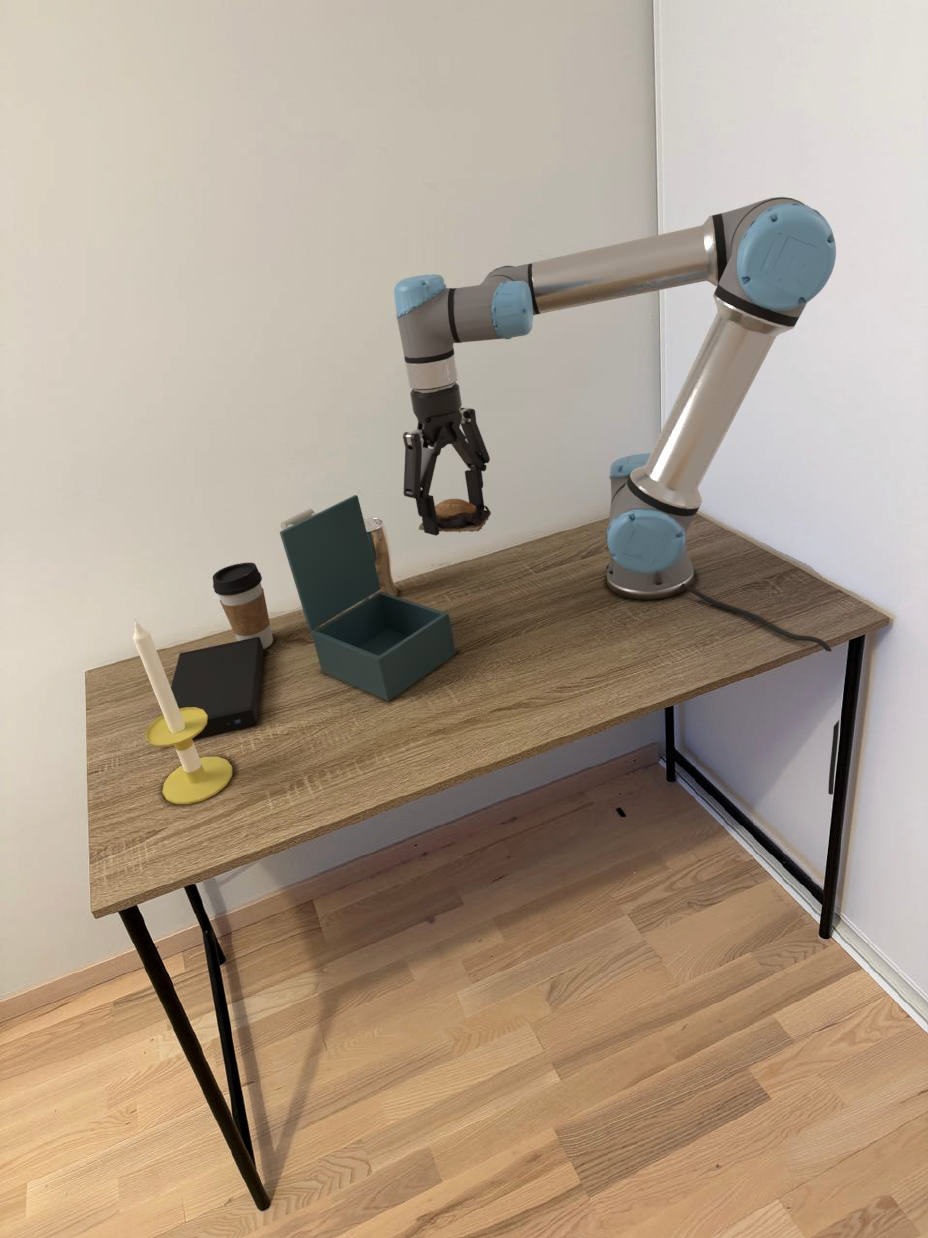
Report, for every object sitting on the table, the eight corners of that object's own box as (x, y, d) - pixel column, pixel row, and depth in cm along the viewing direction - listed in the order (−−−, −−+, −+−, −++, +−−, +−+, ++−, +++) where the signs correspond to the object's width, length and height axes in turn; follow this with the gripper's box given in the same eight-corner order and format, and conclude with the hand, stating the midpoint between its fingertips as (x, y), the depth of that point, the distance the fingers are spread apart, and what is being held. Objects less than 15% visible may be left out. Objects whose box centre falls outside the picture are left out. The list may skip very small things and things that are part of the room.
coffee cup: (269, 656, 149) (245, 581, 141) (226, 656, 151) (200, 582, 143) (287, 631, 156) (265, 558, 148) (245, 632, 158) (222, 560, 150)
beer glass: (406, 594, 161) (391, 523, 154) (375, 608, 158) (358, 536, 151) (388, 583, 166) (373, 513, 159) (358, 596, 163) (341, 526, 156)
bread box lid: (357, 495, 138) (327, 490, 143) (282, 532, 129) (252, 525, 134) (381, 589, 146) (351, 580, 152) (311, 630, 137) (282, 620, 142)
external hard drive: (263, 650, 150) (259, 636, 149) (256, 725, 130) (251, 710, 129) (184, 667, 149) (179, 653, 148) (165, 745, 129) (158, 730, 128)
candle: (191, 754, 126) (130, 597, 113) (246, 762, 123) (189, 601, 109) (148, 798, 119) (77, 636, 105) (205, 809, 115) (138, 642, 102)
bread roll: (417, 533, 137) (412, 512, 135) (434, 512, 144) (431, 492, 142) (478, 533, 133) (475, 512, 131) (493, 511, 140) (490, 491, 138)
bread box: (456, 653, 140) (448, 613, 136) (388, 701, 131) (378, 659, 127) (388, 629, 151) (380, 591, 147) (321, 671, 141) (310, 632, 137)
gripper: (467, 364, 136) (484, 492, 147) (361, 405, 123) (389, 543, 134) (501, 367, 132) (517, 499, 142) (395, 410, 118) (421, 552, 129)
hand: (455, 520), depth 138 cm, fingers closed on bread roll, 10 cm apart
